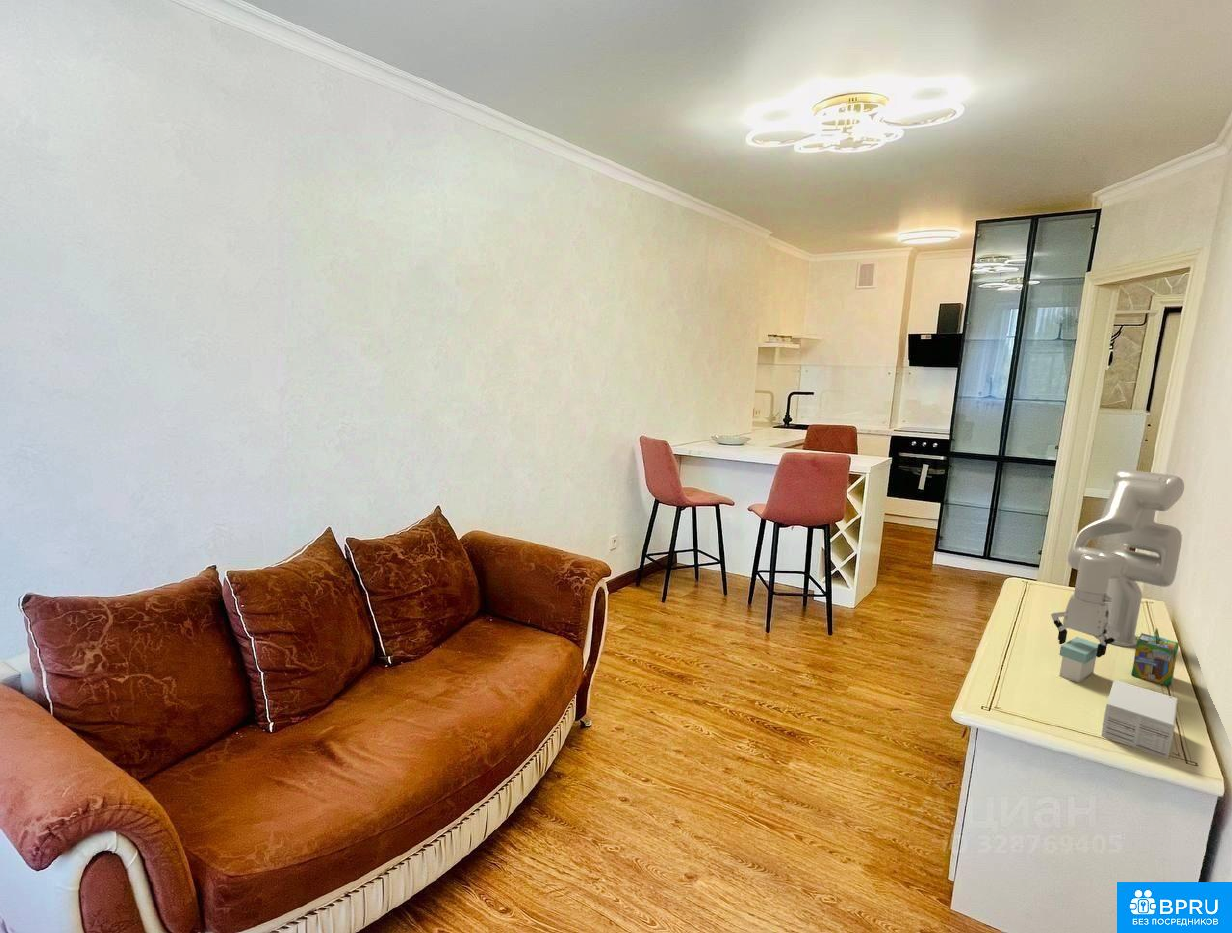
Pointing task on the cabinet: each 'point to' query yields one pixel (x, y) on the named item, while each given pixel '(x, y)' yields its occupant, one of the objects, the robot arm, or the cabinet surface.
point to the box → (1076, 669)
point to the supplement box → (1140, 718)
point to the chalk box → (1155, 659)
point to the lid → (1079, 650)
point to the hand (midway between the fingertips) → (1080, 649)
